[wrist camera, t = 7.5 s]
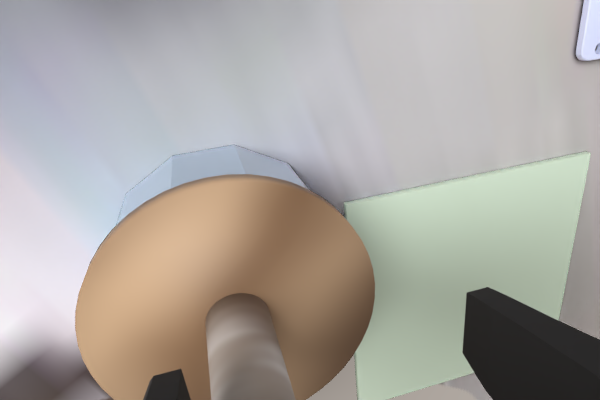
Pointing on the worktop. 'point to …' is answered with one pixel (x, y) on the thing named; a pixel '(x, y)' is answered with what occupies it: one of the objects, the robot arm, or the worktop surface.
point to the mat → (459, 264)
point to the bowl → (205, 172)
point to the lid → (226, 292)
